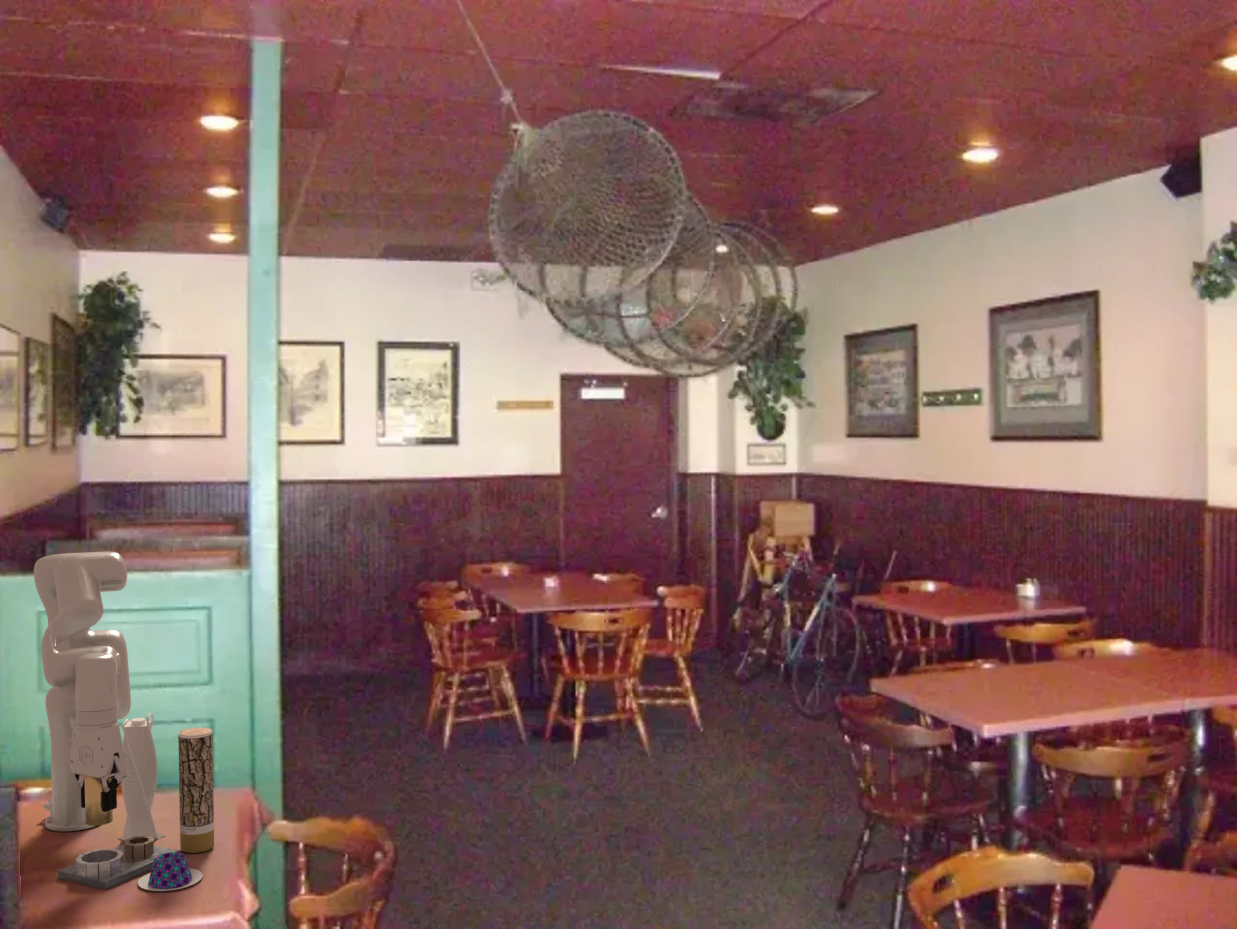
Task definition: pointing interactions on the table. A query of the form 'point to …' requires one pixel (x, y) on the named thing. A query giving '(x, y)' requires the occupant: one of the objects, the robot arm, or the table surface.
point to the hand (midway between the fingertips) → (99, 807)
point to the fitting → (95, 802)
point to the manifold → (114, 863)
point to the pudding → (170, 873)
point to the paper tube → (196, 789)
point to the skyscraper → (139, 778)
